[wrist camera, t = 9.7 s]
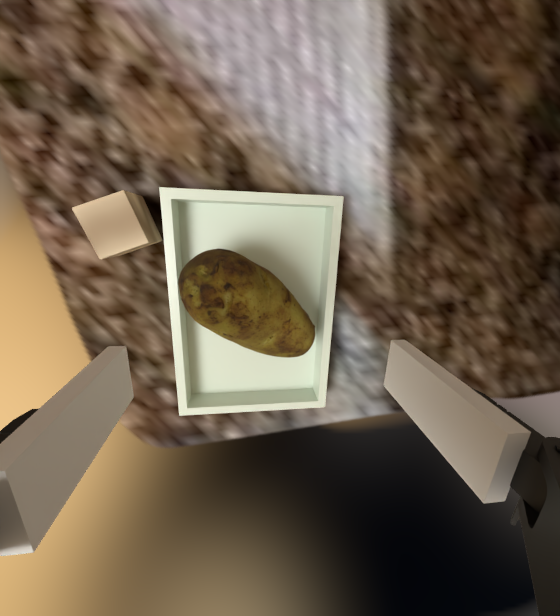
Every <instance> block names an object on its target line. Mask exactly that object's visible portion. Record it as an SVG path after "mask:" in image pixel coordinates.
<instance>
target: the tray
mask: <svg viewBox="0 0 560 616" xmlns="http://www.w3.org/2000/svg"><path fill="white" fill-rule="evenodd" d="M159 190H160V202H161V213H162V224H163V236H164V247H165V258H166V270H167V281H168V293H169V304H170V315H171V327H172V338H173V349H174V361H175V372H176V384H177V395H178V406H179V416H181V415H198V414H215V413H233V412H250V411H267V410H285V409H302V408H319V407H325V401H326V390H327V379H328V367H329V356H330V345H331V334H332V322H333V311H334V300H335V288H336V277H337V266H338V254H339V243H340V232H341V220H342V209H343V198H344V196H327V195H306V194H286V193H266V192H245V191H225V190H204V189H184V188H164V187H159ZM218 248H219V249H226V250H231V251H234V252H236V253H239V254H241V255H243V256H244V257H246V258H247V259H249V260H251V261H253V262H254V263H256V264H258V265H260V266H262V267H264V268H266V269H267V270H269V271H270V272H271V273H272V274H274V275H275V276H276V277H277V278H278V279H279V280H280V281H281V282H282V283H283V284H284V285H285V287H286V288H287V289H288V290H289V291H290V292H291V293H292V295H294V297H295V298H296V300H297V301H298V303H299V304H300V305H301V307H302V308H303V309H304V310H305V311H306V313H307V314H308V315H309V318H310V320H311V321H312V323H313V324H314V325H315V339H314V343H313V345H312V346H311V348H310V349H309V350H308V352H306V353H305V354H304V355H302V356H299V357H292V358H285V357H275V356H270V355H265V354H262V353H258V352H255V351H253V350H250V349H248V348H245V347H242V346H240V345H238V344H236V343H234V342H232V341H229V340H227V339H225V338H223V337H221V336H219V335H217V334H216V333H214V332H212V331H210V330H209V329H207V328H205V327H203V326H202V325H200V324H199V323H197V322H196V321H195V320H194V319H193V318H192V317H191V316H190V314H189V313H188V312H187V310H186V309H185V307H184V304H183V302H182V300H181V296H180V291H179V284H178V281H179V276H180V273H181V271H182V269H183V268H184V266H185V265H186V264H187V263H188V262H189V261H190V260H191V259H192V258H194V257H195V256H197V255H198V254H200V253H202V252H204V251H207V250H212V249H218Z"/></svg>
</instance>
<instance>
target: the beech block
mask: <svg viewBox="0 0 560 616" xmlns="http://www.w3.org/2000/svg"><path fill="white" fill-rule="evenodd" d="M72 209H73V211H74V213H75V215H76V217H77V218H78V220H79V222H80V224H81V226H82V228H83V229H84V231H85V233H86V235H87V237H88V239H89V240H90V242H91V244H92V246H93V248H94V250H95V251H96V253H97V255H98V257H99V259H105V258H110V257H115V256H119V255H123V254H126V253H129V252H132V251H135V250H137V249H140V248H143V247H146V246H149V245H152V244H155V243H157V242H160V241H163V240H162V238H161V235H160V233H159V231H158V229H157V227H156V225H155V222H154V220H153V218H152V216H151V214H150V212H149V209H148V207H147V205H146V203H145V201H144V199H143V196H140V195H137V194H134V193H131V192H127V191H124V190H123V191H120V192H117V193H114V194H111V195H108V196H105V197H102V198H99V199H96V200H93V201H91V202H88V203H85V204H82V205H79V206H76V207H73V208H72Z"/></svg>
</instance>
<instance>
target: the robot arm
mask: <svg viewBox="0 0 560 616" xmlns="http://www.w3.org/2000/svg"><path fill="white" fill-rule="evenodd" d="M384 387H385V388H386V389H387V390H388V391H389V392H390V394H391V395H392V396H393V397H394V398H395V400H396V401H397V402H398V403H399V404H400V405H401V407H402V408H403V409H404V410H405V411H406V412H407V414H408V415H409V416H410V417H411V418H412V419H413V421H414V422H415V423H416V424H417V425H418V427H419V428H420V429H421V430H422V431H423V432H424V434H425V435H426V436H427V437H428V438H429V440H430V441H431V442H432V443H433V444H434V445H435V447H436V448H437V449H438V450H439V451H440V452H441V454H442V455H443V456H444V457H445V458H446V460H447V461H448V462H449V463H450V464H451V465H452V467H453V468H454V469H455V470H456V471H457V472H458V474H459V475H460V476H461V477H462V478H463V480H465V482H466V483H467V484H468V485H469V487H470V488H471V489H472V490H473V491H474V492H475V494H476V495H477V496H478V497H479V498H480V499H481V501H482V502H483V503H491V502H501V501H505V499H506V497H507V494H508V491H509V489H510V486H511V487H512V488H513V489H514V490H515V491H516V492H517V493H518V494H519V495H520V498H519V500H518V503H517V505H516V508H515V510H514V513H513V516H512V518H511V524H513V525H516V522H517V520H519V519H520V521H521V526H522V531H523V536H524V541H525V546H526V551H527V556H528V561H529V566H530V571H531V576H532V581H533V587H534V592H535V597H536V602H537V607H538V612H539V616H560V438H556V437H547V438H545V437H544V436H542V435H541V434H539V433H538V432H536V431H535V430H534V429H533V428H531V427H530V426H528V425H527V424H525V423H524V422H523V421H521V420H520V419H519V418H517V417H516V416H514V415H513V414H511V413H510V412H507V410H506V409H505V408H503V407H502V406H500V405H497V403H496V402H495V401H493V400H492V399H491V398H489V397H488V396H486V395H485V394H483V393H481V392H479V391H477V390H475V389H473V388H471V387H469V386H467V385H466V384H465V383H463V382H462V381H460V380H459V379H458V378H456V377H455V376H454V375H452V374H451V373H450V372H448V371H447V370H445V369H444V368H443V367H441V366H440V365H439V364H437V363H436V362H435V361H433V360H432V359H430V358H429V357H428V356H426V355H425V354H424V353H422V352H421V351H420V350H418V349H417V348H415V347H414V346H413V345H411V344H410V343H409V342H407V341H406V340H391V345H390V351H389V357H388V363H387V369H386V375H385V380H384ZM133 397H134V395H133V388H132V382H131V375H130V369H129V362H128V356H127V349H126V346H108V347H107V348H106V349H105V350H104V351H103V352H102V353H101V354H99V355H98V356H97V357H96V358H95V359H94V360H93V361H92V362H91V363H89V364H88V365H87V366H86V367H85V368H84V369H83V370H82V371H81V372H79V373H78V374H77V375H76V376H75V377H74V378H73V379H72V380H71V381H69V382H68V383H67V384H66V385H65V386H64V387H63V388H62V389H61V390H59V391H58V392H57V393H56V394H55V395H54V396H53V397H52V398H51V399H50V400H48V401H47V402H46V403H45V404H44V405H43V406H42V407H41V408H39V409H32V410H30V411H28V412H26V413H25V414H23V415H21V416H19V417H18V418H16V419H14V420H13V421H12V422H10V423H9V424H8V425H7V426H6V427H4V428H3V429H2V430H1V431H0V555H1V556H6V555H15V554H24V553H33V552H34V551H35V550H36V548H37V547H38V545H39V543H40V542H41V540H42V539H43V537H44V536H45V534H46V533H47V531H48V529H49V528H50V526H51V525H52V523H53V522H54V520H55V518H56V517H57V515H58V514H59V512H60V511H61V509H62V508H63V506H64V505H65V503H66V501H67V500H68V498H69V496H70V495H71V494H72V492H73V491H74V489H75V487H76V486H77V484H78V483H79V481H80V480H81V478H82V477H83V475H84V473H85V472H86V470H87V469H88V467H89V466H90V464H91V463H92V461H93V459H94V458H95V456H96V455H97V453H98V452H99V450H100V448H101V447H102V445H103V444H104V442H105V441H106V439H107V438H108V436H109V434H110V433H111V431H112V429H113V428H114V427H115V425H116V424H117V422H118V421H119V419H120V417H121V416H122V414H123V413H124V411H125V410H126V408H127V407H128V405H129V403H130V402H131V400H132V399H133Z"/></svg>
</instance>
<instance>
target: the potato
mask: <svg viewBox="0 0 560 616" xmlns="http://www.w3.org/2000/svg"><path fill="white" fill-rule="evenodd" d="M178 284H179V291H180V296H181V300H182V302H183V304H184V307H185V309H186V310H187V312H188V313H189V314H190V316H191V317H192V318H193V319H194V320H195V321H196V322H197V323H199V324H200V325H202V326H203V327H205V328H207V329H209V330H210V331H212V332H214V333H216V334H217V335H219V336H221V337H223V338H225V339H227V340H229V341H232V342H234V343H236V344H238V345H240V346H242V347H245V348H248V349H250V350H253V351H255V352H258V353H262V354H265V355H270V356H275V357H285V358H292V357H299V356H302V355H304V354H305V353H306V352H308V350H309V349H310V348H311V346H312V345H313V343H314V339H315V325H314V324H313V323H312V321H311V320H310V318H309V315H308V314H307V313H306V311H305V310H304V309H303V308H302V307H301V305H300V304H299V303H298V301H297V300H296V298H295V297H294V295H292V293H291V292H290V291H289V290H288V289H287V288H286V287H285V285H284V284H283V283H282V282H281V281H280V280H279V279H278V278H277V277H276V276H275V275H274V274H272V273H271V272H270V271H269V270H267V269H266V268H264V267H262V266H260V265H258V264H256V263H254V262H253V261H251V260H249V259H247V258H246V257H244V256H243V255H241V254H239V253H236V252H234V251H231V250H226V249H219V248H218V249H212V250H207V251H204V252H202V253H200V254H198V255H197V256H195V257H194V258H192V259H191V260H190V261H189V262H188V263H187V264H186V265H185V266H184V268H183V269H182V271H181V273H180V276H179V281H178Z"/></svg>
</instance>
